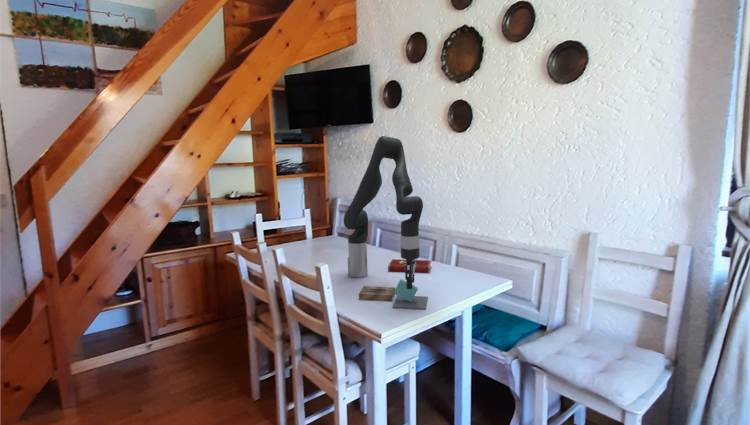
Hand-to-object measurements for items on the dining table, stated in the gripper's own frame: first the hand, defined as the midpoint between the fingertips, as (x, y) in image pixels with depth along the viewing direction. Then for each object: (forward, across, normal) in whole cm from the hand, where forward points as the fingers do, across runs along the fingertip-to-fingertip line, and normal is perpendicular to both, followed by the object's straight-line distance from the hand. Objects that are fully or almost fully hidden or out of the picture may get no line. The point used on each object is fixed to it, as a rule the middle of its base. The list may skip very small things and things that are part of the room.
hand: (410, 285), depth 168 cm
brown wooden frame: (+7, -6, -15) cm, 18 cm away
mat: (+7, 0, 0) cm, 7 cm away
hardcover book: (+8, -47, -5) cm, 48 cm away
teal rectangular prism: (+4, 0, +2) cm, 4 cm away
